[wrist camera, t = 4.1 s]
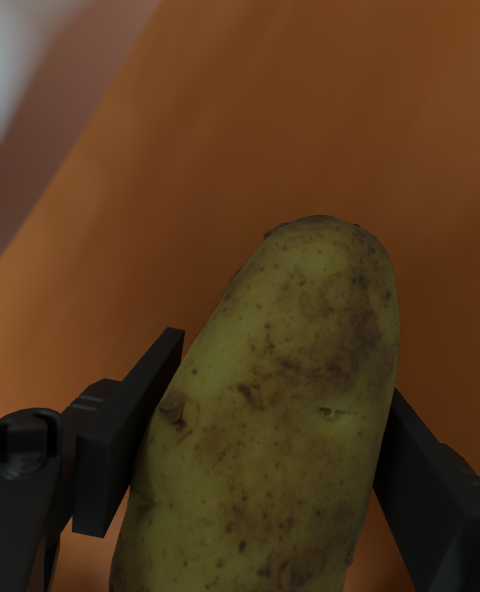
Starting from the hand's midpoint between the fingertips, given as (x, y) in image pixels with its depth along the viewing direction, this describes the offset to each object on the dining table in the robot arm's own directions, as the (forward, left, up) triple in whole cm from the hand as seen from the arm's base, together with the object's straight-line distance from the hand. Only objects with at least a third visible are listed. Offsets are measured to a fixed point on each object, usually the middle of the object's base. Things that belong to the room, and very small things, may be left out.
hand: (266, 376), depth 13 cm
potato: (0, 0, 0) cm, 0 cm away
